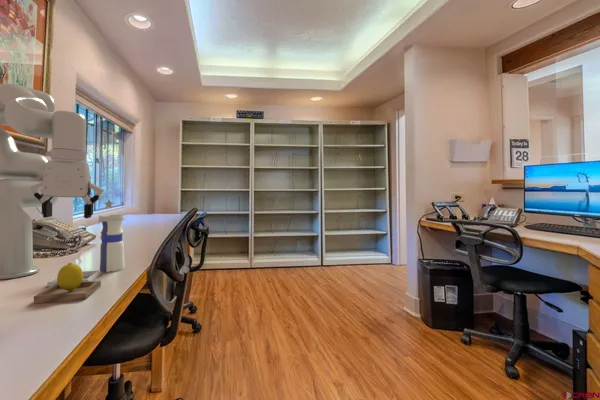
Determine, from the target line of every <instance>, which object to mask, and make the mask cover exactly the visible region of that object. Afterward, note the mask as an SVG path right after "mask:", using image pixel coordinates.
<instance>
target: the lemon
mask: <svg viewBox="0 0 600 400" xmlns="http://www.w3.org/2000/svg"><path fill="white" fill-rule="evenodd" d="M82 271H83V270H82V267H81V266H80V265H78V264H77V263H73V262H69V263H67V264H65V265H64V266H62V267H61V268H60V269H59V271H58V273H57V276H56V277H57V282H58V285H59V286H60V288H62V289H64V290H67V291H69V292H72V291H73V290H74V289H75V288H77V287H78V286H79V285H80V284H81V283H82V280H83V279H84V276H83V272H82Z"/></svg>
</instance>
